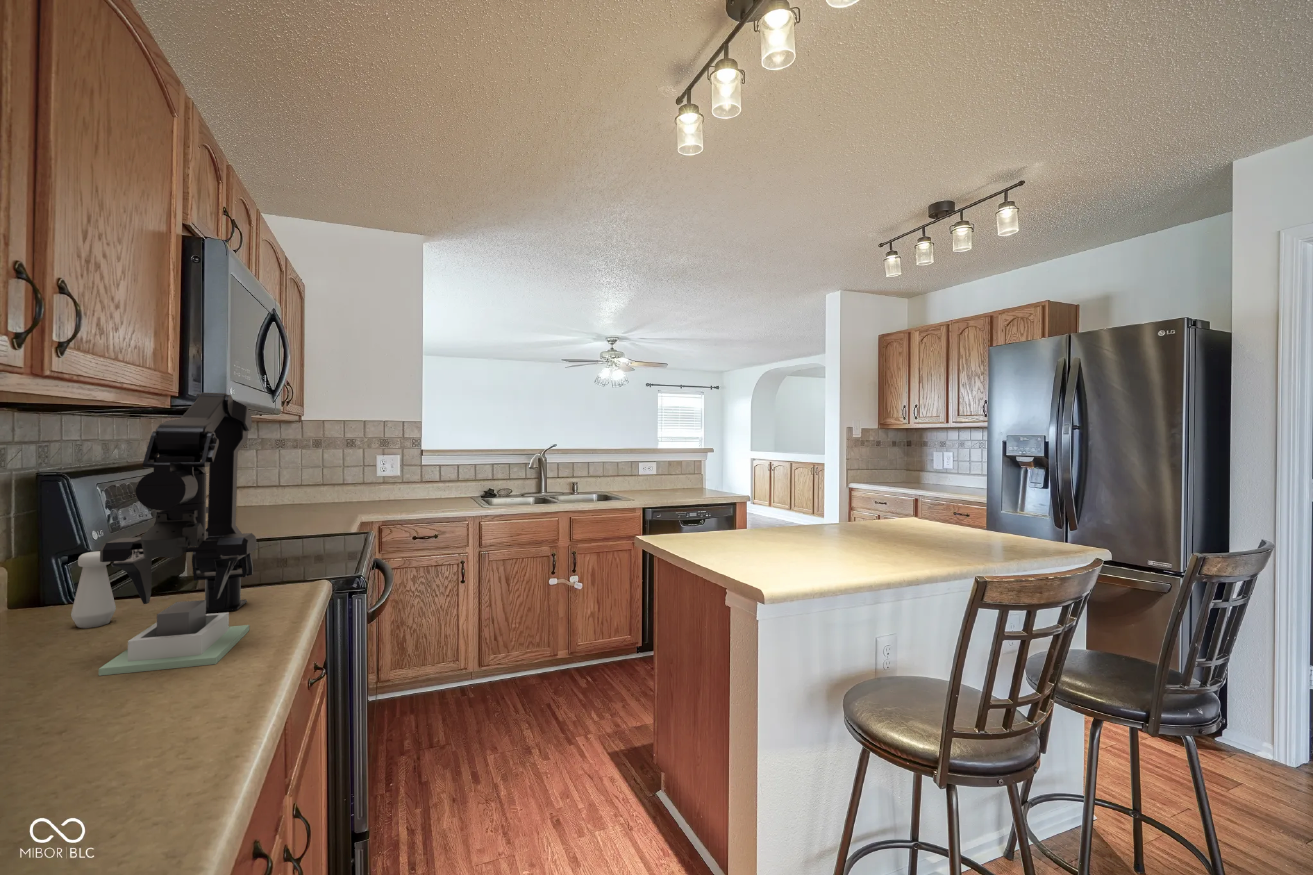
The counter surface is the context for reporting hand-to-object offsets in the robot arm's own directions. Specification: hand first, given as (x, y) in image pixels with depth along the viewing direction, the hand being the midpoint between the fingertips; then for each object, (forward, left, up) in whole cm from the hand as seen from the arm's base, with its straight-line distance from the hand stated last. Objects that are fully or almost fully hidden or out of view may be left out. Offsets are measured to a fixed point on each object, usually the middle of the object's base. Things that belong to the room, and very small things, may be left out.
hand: (182, 600), depth 93 cm
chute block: (0, 0, -7) cm, 7 cm away
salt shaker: (-20, -20, -8) cm, 30 cm away
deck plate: (0, 0, -8) cm, 8 cm away
